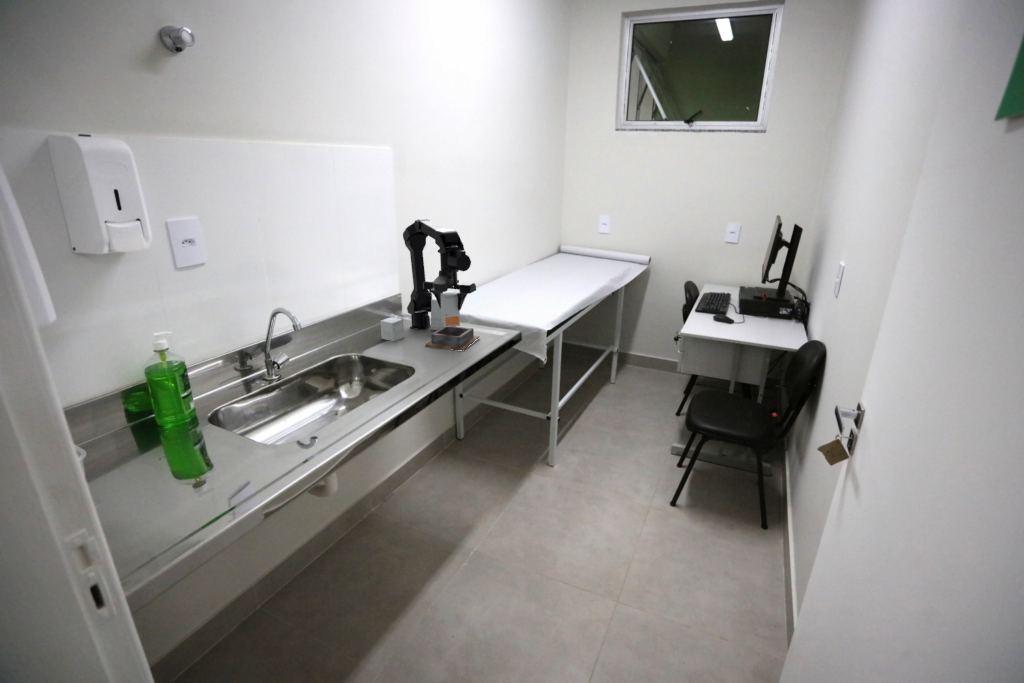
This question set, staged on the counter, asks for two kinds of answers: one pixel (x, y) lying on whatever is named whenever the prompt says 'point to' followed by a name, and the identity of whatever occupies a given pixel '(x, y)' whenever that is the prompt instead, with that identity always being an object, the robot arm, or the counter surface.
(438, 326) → the supplement box
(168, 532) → the counter surface
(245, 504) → the counter surface
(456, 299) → the skincare box
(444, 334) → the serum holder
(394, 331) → the skincare box
